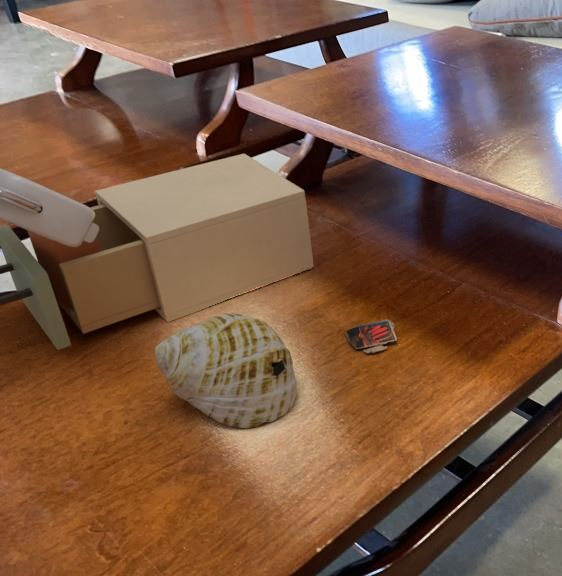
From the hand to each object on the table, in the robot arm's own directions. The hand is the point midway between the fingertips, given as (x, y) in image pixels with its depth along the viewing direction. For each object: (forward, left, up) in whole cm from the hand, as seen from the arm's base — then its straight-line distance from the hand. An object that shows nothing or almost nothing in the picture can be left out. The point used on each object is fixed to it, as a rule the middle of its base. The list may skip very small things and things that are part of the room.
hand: (67, 223), depth 72 cm
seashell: (+4, -22, -10) cm, 24 cm away
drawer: (+1, 0, -9) cm, 9 cm away
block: (-1, 0, -8) cm, 8 cm away
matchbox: (+18, -23, -10) cm, 31 cm away
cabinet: (+13, 0, -10) cm, 16 cm away
